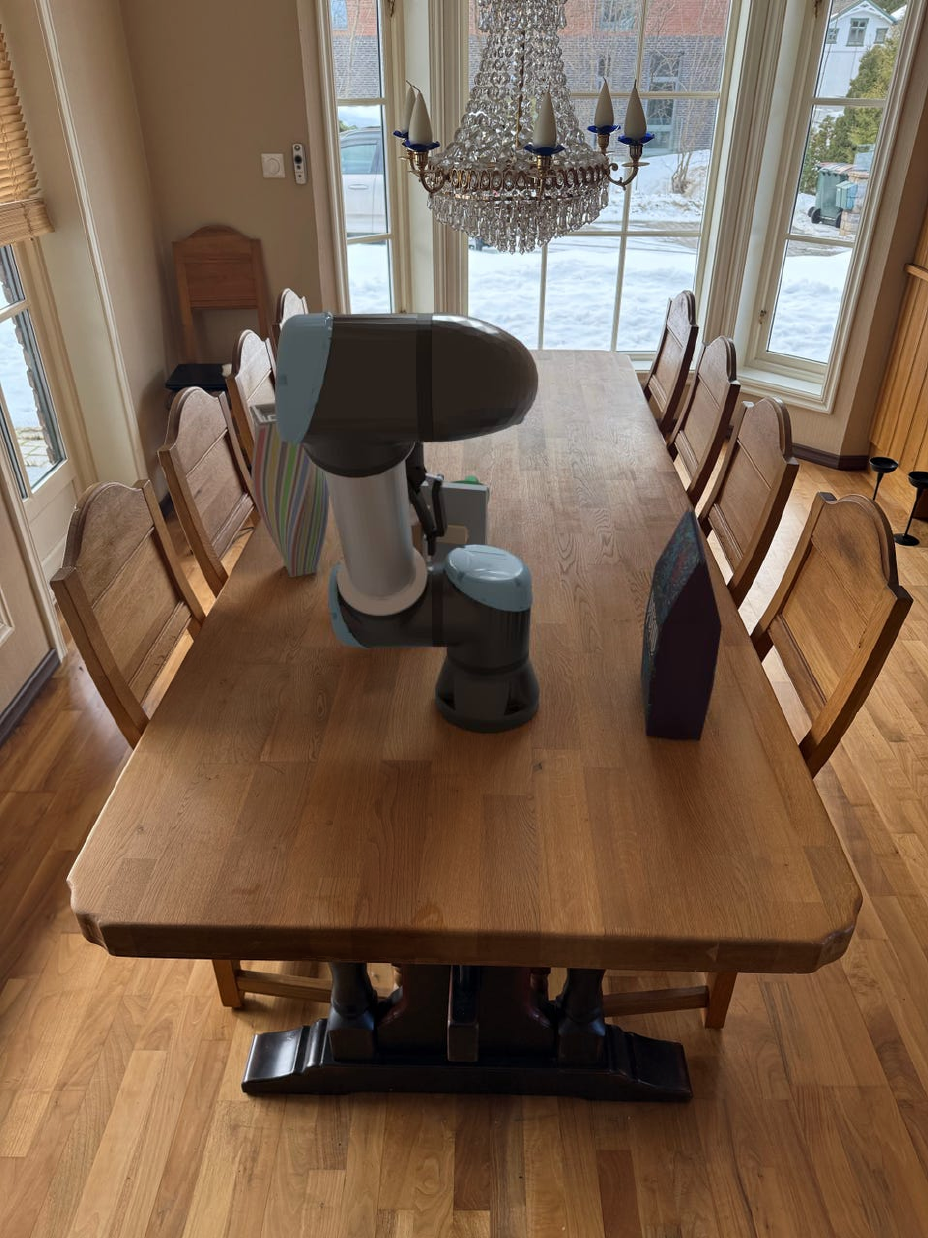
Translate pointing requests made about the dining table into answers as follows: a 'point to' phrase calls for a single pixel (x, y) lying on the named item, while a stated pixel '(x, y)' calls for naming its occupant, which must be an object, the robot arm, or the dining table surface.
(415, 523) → the brown block
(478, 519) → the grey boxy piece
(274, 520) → the vase
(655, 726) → the decorative box
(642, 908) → the dining table surface
